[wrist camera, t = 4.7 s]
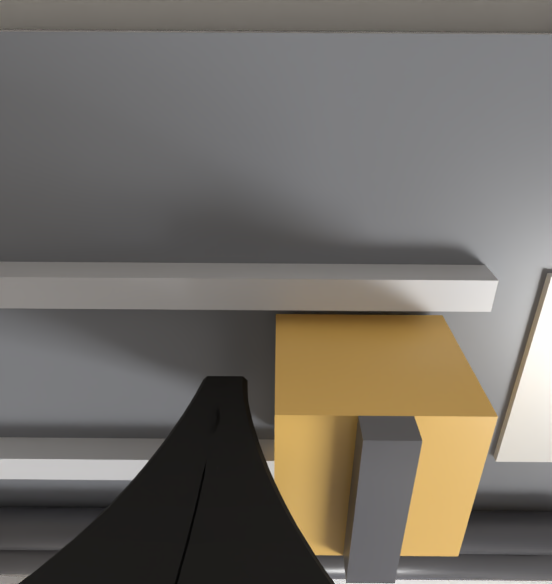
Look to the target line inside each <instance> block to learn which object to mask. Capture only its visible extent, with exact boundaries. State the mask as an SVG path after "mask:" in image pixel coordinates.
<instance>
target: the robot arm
mask: <svg viewBox="0 0 552 584" xmlns="http://www.w3.org/2000/svg"><path fill="white" fill-rule="evenodd" d="M19 584H335V583H334V582H333V580H332V579H331V578H330V576H329V575H328V573H327V572H326V570H325V569H324V567H323V566H322V565H321V563H320V562H319V560H318V558H317V557H316V555H315V554H314V552H313V550H312V549H311V547H310V545H309V544H308V542H307V541H306V539H305V537H304V536H303V534H302V532H301V531H300V529H299V528H298V526H297V524H296V522H295V521H294V519H293V517H292V515H291V513H290V511H289V509H288V508H287V506H286V504H285V502H284V500H283V498H282V496H281V494H280V492H279V490H278V487H277V485H276V483H275V481H274V479H273V476H272V474H271V472H270V469H269V467H268V464H267V462H266V459H265V457H264V454H263V452H262V449H261V446H260V443H259V440H258V437H257V434H256V430H255V427H254V424H253V420H252V416H251V412H250V407H249V402H248V380H247V379H246V378H244V377H243V376H207V377H206V378H204V379H203V381H202V383H201V385H200V386H199V388H198V390H197V392H196V394H195V395H194V397H193V399H192V400H191V402H190V404H189V405H188V407H187V408H186V410H185V412H184V413H183V415H182V416H181V418H180V419H179V421H178V422H177V423H176V425H175V426H174V428H173V429H172V431H171V432H170V433H169V435H168V436H167V438H166V439H165V440H164V442H163V443H162V444H161V446H160V447H159V448H158V449H157V451H156V452H155V453H154V455H153V456H152V457H151V458H150V460H149V461H148V462H147V463H146V465H145V466H144V467H143V468H142V470H141V471H140V472H139V473H138V474H137V475H136V477H135V478H134V479H133V480H132V481H131V482H130V483H129V484H128V486H127V487H126V488H125V489H124V490H123V491H122V492H121V493H120V494H119V495H118V496H117V497H116V498H115V499H114V501H113V502H112V503H111V504H110V505H109V506H108V507H106V508H105V509H104V510H103V511H102V512H101V513H100V514H99V515H98V516H97V517H96V518H95V519H94V520H93V521H92V522H91V523H90V524H89V525H88V526H87V527H86V528H85V529H84V530H83V531H82V532H80V533H79V534H78V535H77V536H76V537H75V538H74V539H73V540H71V541H70V542H69V543H68V544H67V545H65V546H64V547H63V548H62V549H61V550H60V551H58V552H57V553H56V554H55V555H54V556H52V557H51V558H50V559H49V560H48V561H46V562H45V563H44V564H43V565H42V566H40V567H39V568H38V569H37V570H36V571H34V572H33V573H32V574H31V575H29V576H28V577H27V578H25V579H24V580H23V581H22V582H20V583H19Z"/></svg>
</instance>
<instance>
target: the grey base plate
mask: <svg viewBox="0 0 552 584" xmlns="http://www.w3.org/2000/svg"><path fill="white" fill-rule="evenodd" d="M276 314H346V315H443V317H444V319H445V321H446V323H447V325H448V326H449V328H450V330H451V332H452V334H453V335H454V337H455V339H456V341H457V343H458V345H459V346H460V348H461V350H462V352H463V354H464V356H465V357H466V359H467V361H468V363H469V365H470V366H471V368H472V370H473V372H474V374H475V376H476V377H477V379H478V381H479V383H480V385H481V387H482V388H483V390H484V392H485V394H486V396H487V398H488V399H489V401H490V403H491V405H492V407H493V408H494V410H495V412H496V414H497V416H498V419H497V422H496V426H495V429H494V433H493V436H492V440H491V443H490V447H489V450H488V454H487V457H486V461H485V464H484V468H483V471H482V475H481V478H480V482H479V485H478V489H477V492H476V496H475V499H474V503H473V506H472V510H471V513H470V517H469V520H468V524H467V527H466V531H465V534H464V538H463V541H462V545H461V548H460V552H459V555H458V556H400V558H399V563H398V568H397V574H396V579H395V580H504V581H552V33H518V32H327V31H135V30H0V576H29V575H31V574H32V573H33V572H34V571H36V570H37V569H38V568H39V567H40V566H42V565H43V564H44V563H45V562H46V561H48V560H49V559H50V558H51V557H52V556H54V555H55V554H56V553H57V552H58V551H60V550H61V549H62V548H63V547H64V546H65V545H67V544H68V543H69V542H70V541H71V540H73V539H74V538H75V537H76V536H77V535H78V534H79V533H80V532H82V531H83V530H84V529H85V528H86V527H87V526H88V525H89V524H90V523H91V522H92V521H93V520H94V519H95V518H96V517H97V516H98V515H99V514H100V513H101V512H102V511H103V510H104V509H105V508H106V507H108V506H109V505H110V504H111V503H112V502H113V501H114V499H115V498H116V497H117V496H118V495H119V494H120V493H121V492H122V491H123V490H124V489H125V488H126V487H127V486H128V484H129V483H130V482H131V481H132V480H133V479H134V478H135V477H136V475H137V474H138V473H139V472H140V471H141V470H142V468H143V467H144V466H145V465H146V463H147V462H148V461H149V460H150V458H151V457H152V456H153V455H154V453H155V452H156V451H157V449H158V448H159V447H160V446H161V444H162V443H163V442H164V440H165V439H166V438H167V436H168V435H169V433H170V432H171V431H172V429H173V428H174V426H175V425H176V423H177V422H178V421H179V419H180V418H181V416H182V415H183V413H184V412H185V410H186V408H187V407H188V405H189V404H190V402H191V400H192V399H193V397H194V395H195V394H196V392H197V390H198V388H199V386H200V385H201V383H202V381H203V379H204V378H206V377H207V376H243V377H244V378H246V379H247V380H248V402H249V407H250V412H251V416H252V420H253V424H254V427H255V430H256V434H257V437H258V440H259V443H260V446H261V449H262V452H263V454H264V457H265V459H266V462H267V464H268V467H269V469H270V472H271V474H272V476H273V479H274V441H275V347H276ZM316 557H317V558H318V560H319V562H320V563H321V565H322V566H323V567H324V569H325V570H326V572H327V573H328V575H329V576H330V578H331V579H346V577H345V568H344V560H343V555H316Z"/></svg>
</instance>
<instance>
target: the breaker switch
mask: <svg viewBox="0 0 552 584" xmlns="http://www.w3.org/2000/svg"><path fill="white" fill-rule="evenodd" d="M497 419H498V416H497V414H496V412H495V410H494V408H493V407H492V405H491V403H490V401H489V399H488V398H487V396H486V394H485V392H484V390H483V388H482V387H481V385H480V383H479V381H478V379H477V377H476V376H475V374H474V372H473V370H472V368H471V366H470V365H469V363H468V361H467V359H466V357H465V356H464V354H463V352H462V350H461V348H460V346H459V345H458V343H457V341H456V339H455V337H454V335H453V334H452V332H451V330H450V328H449V326H448V325H447V323H446V321H445V319H444V317H443V315H346V314H276V347H275V441H274V481H275V483H276V485H277V487H278V490H279V492H280V494H281V496H282V498H283V500H284V502H285V504H286V506H287V508H288V509H289V511H290V513H291V515H292V517H293V519H294V521H295V522H296V524H297V526H298V528H299V529H300V531H301V532H302V534H303V536H304V537H305V539H306V541H307V542H308V544H309V545H310V547H311V549H312V550H313V552H314V554H315V555H343V560H344V568H345V577H346V583H395V579H396V574H397V568H398V563H399V558H400V556H458V555H459V552H460V548H461V545H462V541H463V538H464V534H465V531H466V527H467V524H468V520H469V517H470V513H471V510H472V506H473V503H474V499H475V496H476V492H477V489H478V485H479V482H480V478H481V475H482V471H483V468H484V464H485V461H486V457H487V454H488V450H489V447H490V443H491V440H492V436H493V433H494V429H495V426H496V422H497Z"/></svg>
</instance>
